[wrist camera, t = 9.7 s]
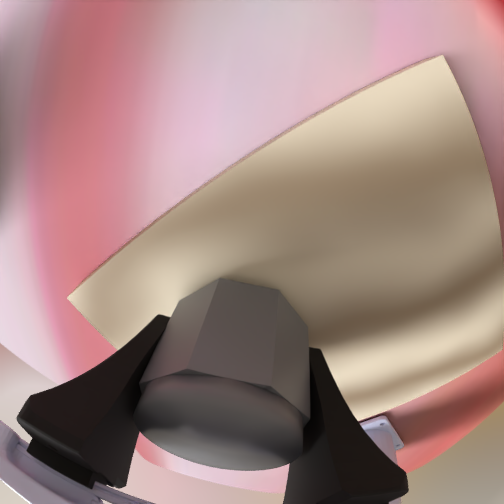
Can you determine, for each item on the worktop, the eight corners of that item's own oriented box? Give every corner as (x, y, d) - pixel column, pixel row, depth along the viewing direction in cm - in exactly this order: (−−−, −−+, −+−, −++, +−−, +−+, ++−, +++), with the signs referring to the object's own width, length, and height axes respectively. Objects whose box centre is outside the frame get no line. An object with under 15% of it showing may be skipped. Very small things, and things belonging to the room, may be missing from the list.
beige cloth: (494, 335, 14) (502, 349, 13) (249, 432, 21) (247, 447, 20) (425, 59, 8) (442, 55, 7) (79, 283, 15) (66, 297, 14)
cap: (319, 297, 11) (330, 422, 6) (285, 379, 14) (278, 476, 9) (179, 269, 11) (117, 378, 6) (179, 357, 14) (145, 448, 9)
